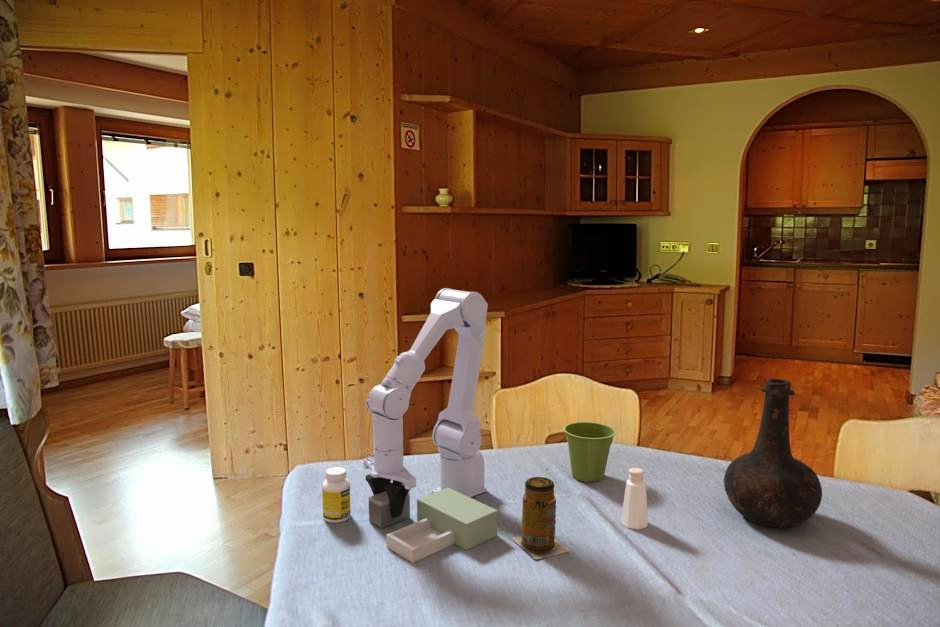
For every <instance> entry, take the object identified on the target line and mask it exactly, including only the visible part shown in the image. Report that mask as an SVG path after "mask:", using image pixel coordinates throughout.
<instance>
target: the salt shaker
mask: <svg viewBox="0 0 940 627" xmlns="http://www.w3.org/2000/svg"><path fill="white" fill-rule="evenodd" d="M628 472H629V477H628V479H627V480H626V484H625V490H624V496H623V504H622V510H621V517H620V524H621V525H622V526H624V527H626V528H627V529H632V530H643V529H646V528H648V524H649V517H648V515H649V514H648V503H647V502H648V500H647V499H648V498H647V486H646V482H645V481H644V480H643V479H644V474H645V471H644V469H641V468H639V467H631V468H629V470H628Z"/></svg>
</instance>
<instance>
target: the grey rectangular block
mask: <svg viewBox="0 0 940 627" xmlns="http://www.w3.org/2000/svg"><path fill="white" fill-rule="evenodd" d="M410 495H411V494H410V492H409V493H408V495H407V497H406V500H405V503H404V507H403V511H402V515H401V516H398V517H395V518H392V517H391V513H390V505H389V499H388V495H387V492H386V491H384V492H382V493H379V494H376V495H373V494H372V495H370V496H368V521H369V522H370V523H372V524H373V525H375V526H377V527H378V528H380V529H383V528H385V527H387V526H390V525H393V524H395V523H398V522H400V521H403V520H405V519H407V518H410V517H411V504H410V502H411V501H410V500H411V499H410Z"/></svg>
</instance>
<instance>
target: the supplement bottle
mask: <svg viewBox="0 0 940 627" xmlns="http://www.w3.org/2000/svg"><path fill="white" fill-rule="evenodd" d="M321 487H322V488H321V490H322V491H321V492H322V493H321V494H322V495H321V496H322V517H323V520H324V521H325V522H328V523H332V524H336V523H343V522H346V521H347V520H348V519H349V518H350V517H351V483H350V481H349V479H347V468H345V467H341V466H335V467H330V468H328V469H326V470H325V480H324V481H323V483H322V485H321Z"/></svg>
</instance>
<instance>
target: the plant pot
mask: <svg viewBox="0 0 940 627" xmlns="http://www.w3.org/2000/svg"><path fill="white" fill-rule="evenodd" d="M562 430H563V432H564V433H565V435H566V436H565V437H566V438H565V439H566V442H567V446H568V454H569V455H568V456H569V461H570V470H571V476H572V477H574V478H575V479H576V480H577V481H581V482H586V483H593V482H595V481H602V480H603V479H604V477H605V473H606V469H607V463H608V458H609V453H610V450H611V445H612V444H613V440H614V437H615V436H616V435H617V430H616V428H613V427H612V426H610V425H608V424H605V423H600V422H595V421H575V422H570V423H568V424H566V425H564V426H563V429H562Z"/></svg>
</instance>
